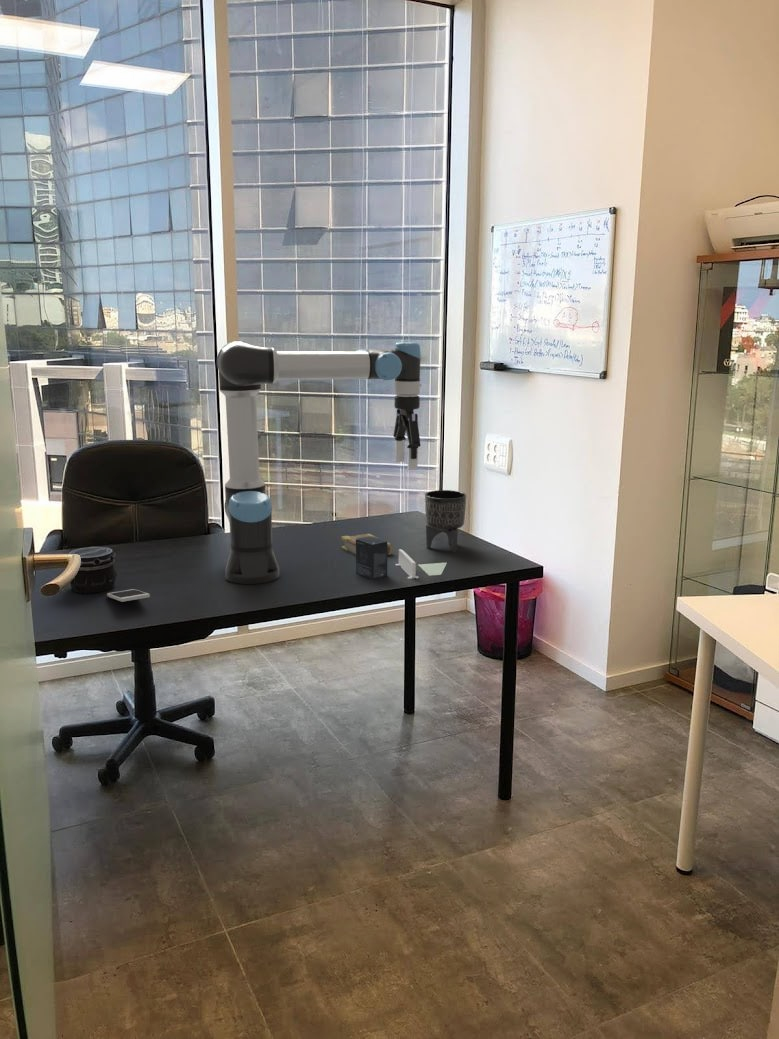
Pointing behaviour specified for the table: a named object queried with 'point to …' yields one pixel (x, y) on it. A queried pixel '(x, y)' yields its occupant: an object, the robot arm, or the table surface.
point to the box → (371, 557)
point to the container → (94, 570)
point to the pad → (433, 568)
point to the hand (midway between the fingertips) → (406, 465)
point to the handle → (407, 564)
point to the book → (351, 543)
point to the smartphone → (128, 595)
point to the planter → (444, 515)
